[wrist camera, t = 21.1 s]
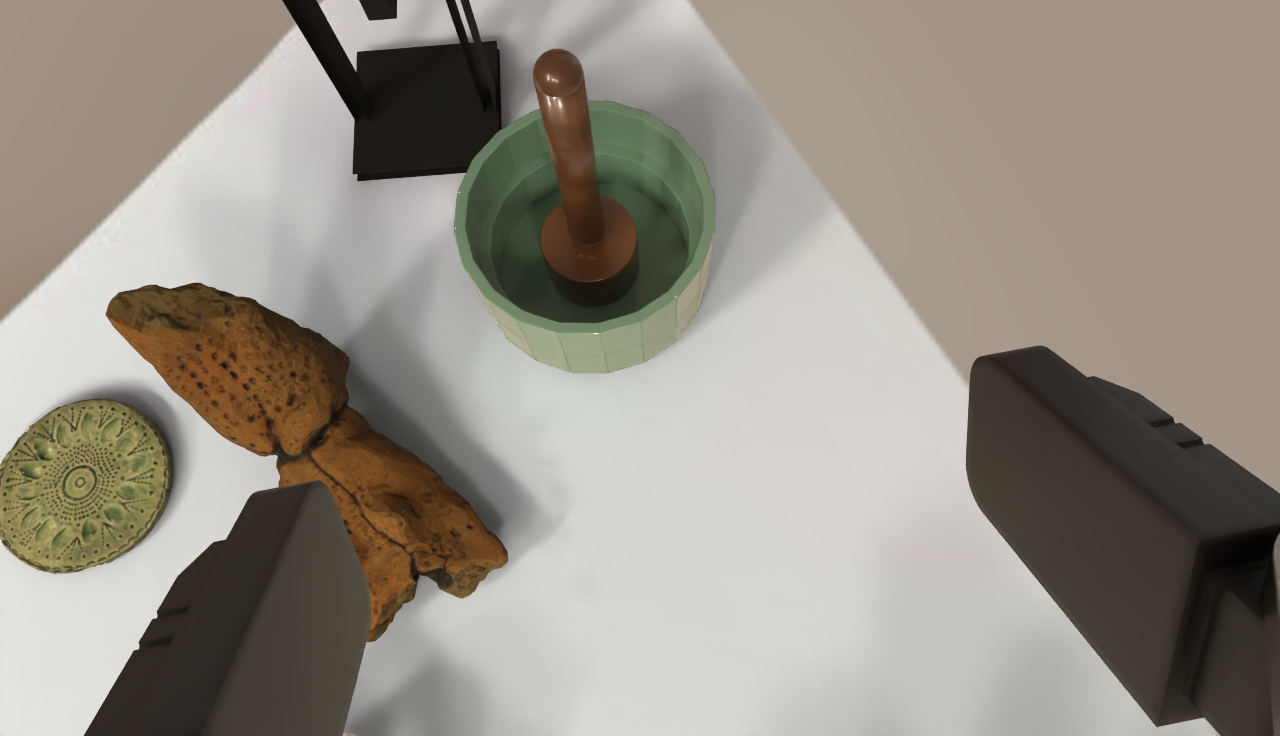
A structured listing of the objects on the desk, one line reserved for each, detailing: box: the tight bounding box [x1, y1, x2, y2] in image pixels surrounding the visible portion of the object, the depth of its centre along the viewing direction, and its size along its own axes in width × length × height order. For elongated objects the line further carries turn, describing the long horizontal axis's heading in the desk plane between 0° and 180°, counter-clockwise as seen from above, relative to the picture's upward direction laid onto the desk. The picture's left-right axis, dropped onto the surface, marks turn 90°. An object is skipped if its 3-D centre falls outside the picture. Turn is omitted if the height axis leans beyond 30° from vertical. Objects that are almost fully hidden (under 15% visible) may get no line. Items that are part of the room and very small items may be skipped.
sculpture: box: [106, 283, 508, 642], centre depth 32 cm, size 8×10×15 cm
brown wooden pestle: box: [533, 49, 639, 307], centre depth 32 cm, size 4×4×15 cm
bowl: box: [454, 101, 715, 373], centre depth 36 cm, size 11×11×6 cm
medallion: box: [0, 399, 172, 574], centre depth 36 cm, size 8×8×1 cm
